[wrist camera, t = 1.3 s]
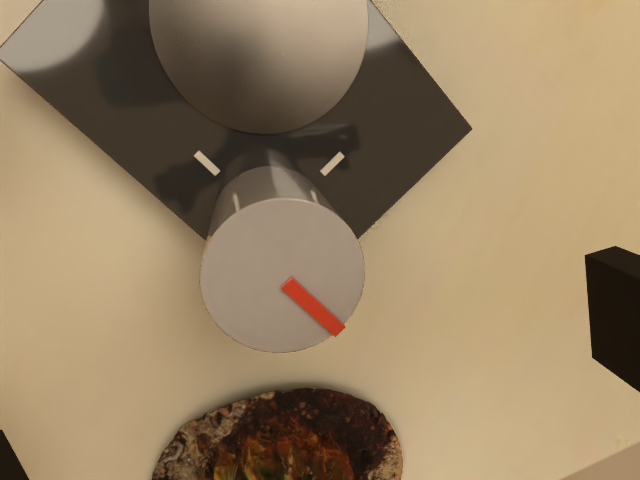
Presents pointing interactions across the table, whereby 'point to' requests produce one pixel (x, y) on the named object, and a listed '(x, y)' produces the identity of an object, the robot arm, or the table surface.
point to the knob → (279, 263)
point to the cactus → (286, 441)
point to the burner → (260, 57)
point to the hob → (223, 142)
